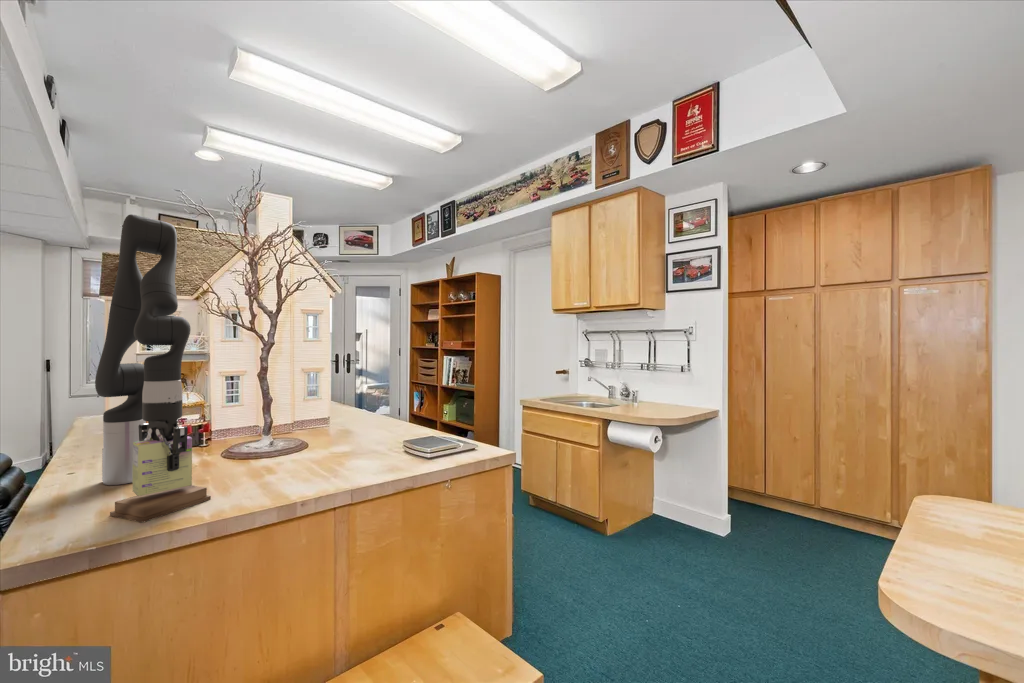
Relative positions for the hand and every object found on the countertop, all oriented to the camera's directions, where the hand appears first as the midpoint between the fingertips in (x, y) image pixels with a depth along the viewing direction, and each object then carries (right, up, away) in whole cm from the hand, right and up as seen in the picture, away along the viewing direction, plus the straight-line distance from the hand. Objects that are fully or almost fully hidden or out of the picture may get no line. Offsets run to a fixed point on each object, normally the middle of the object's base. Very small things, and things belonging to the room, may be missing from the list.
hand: (162, 468), depth 106 cm
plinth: (0, -9, 0) cm, 9 cm away
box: (0, -5, 0) cm, 5 cm away
